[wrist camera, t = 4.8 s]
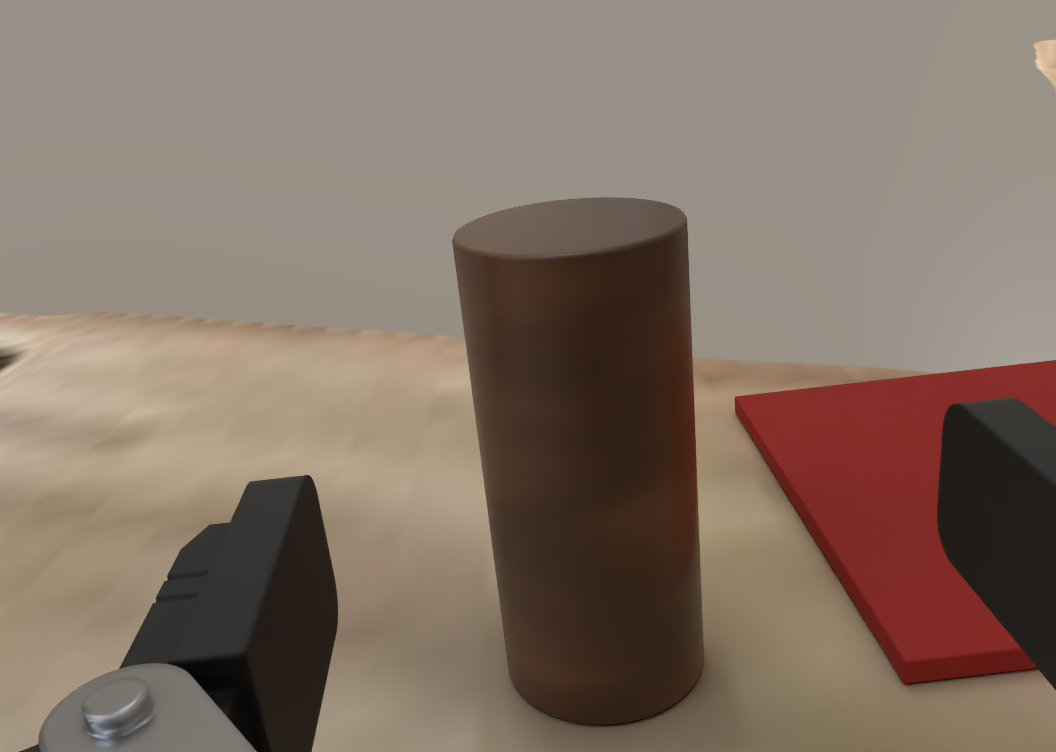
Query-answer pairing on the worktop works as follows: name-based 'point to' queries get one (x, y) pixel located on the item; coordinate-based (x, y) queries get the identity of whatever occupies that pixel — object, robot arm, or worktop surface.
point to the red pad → (893, 505)
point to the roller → (588, 449)
